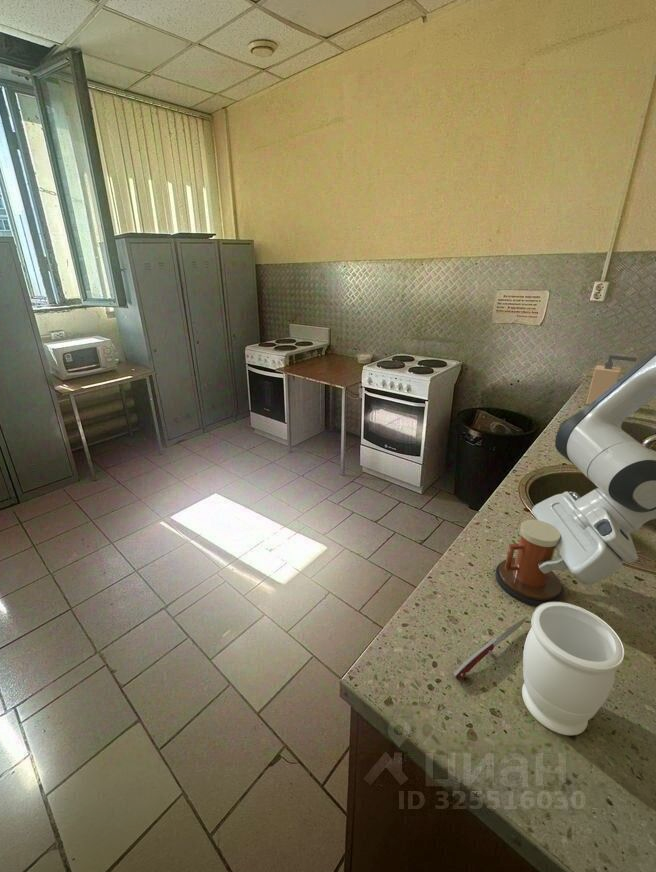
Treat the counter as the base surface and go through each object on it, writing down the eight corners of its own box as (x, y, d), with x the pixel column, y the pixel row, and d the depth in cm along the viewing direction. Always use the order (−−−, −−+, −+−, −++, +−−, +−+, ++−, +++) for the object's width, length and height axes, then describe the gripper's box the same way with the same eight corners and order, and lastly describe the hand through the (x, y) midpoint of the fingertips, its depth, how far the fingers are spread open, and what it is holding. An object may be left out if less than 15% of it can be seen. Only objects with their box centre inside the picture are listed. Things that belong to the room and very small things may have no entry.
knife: (456, 687, 62) (458, 673, 60) (449, 680, 63) (451, 667, 61) (529, 626, 71) (532, 613, 70) (522, 621, 72) (525, 608, 71)
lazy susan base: (547, 565, 85) (548, 561, 85) (573, 610, 74) (575, 606, 74) (488, 560, 87) (489, 556, 87) (505, 603, 76) (506, 599, 76)
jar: (531, 659, 65) (549, 589, 60) (606, 708, 58) (634, 634, 53) (501, 702, 59) (518, 628, 54) (581, 764, 52) (610, 686, 46)
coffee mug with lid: (537, 558, 86) (549, 511, 81) (574, 598, 75) (589, 547, 71) (488, 562, 85) (497, 514, 81) (518, 602, 75) (530, 550, 70)
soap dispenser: (585, 404, 177) (598, 355, 169) (588, 399, 183) (600, 352, 175) (621, 409, 169) (636, 359, 161) (623, 404, 175) (637, 355, 167)
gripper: (563, 478, 82) (505, 514, 87) (620, 542, 63) (543, 583, 68) (582, 498, 83) (524, 532, 88) (644, 567, 64) (566, 606, 69)
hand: (532, 555), depth 78 cm, fingers closed on coffee mug with lid, 6 cm apart
